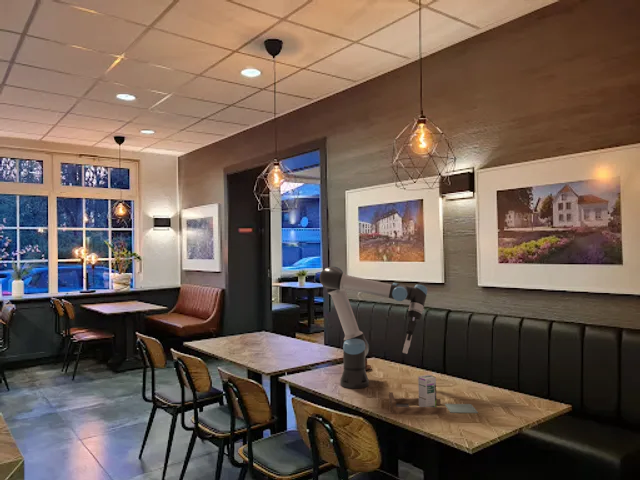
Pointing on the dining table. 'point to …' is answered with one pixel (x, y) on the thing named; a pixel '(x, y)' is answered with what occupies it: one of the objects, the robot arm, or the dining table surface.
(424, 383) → the syrup box
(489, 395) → the dining table surface
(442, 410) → the walnut lane
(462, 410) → the pad
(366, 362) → the cup and saucer
